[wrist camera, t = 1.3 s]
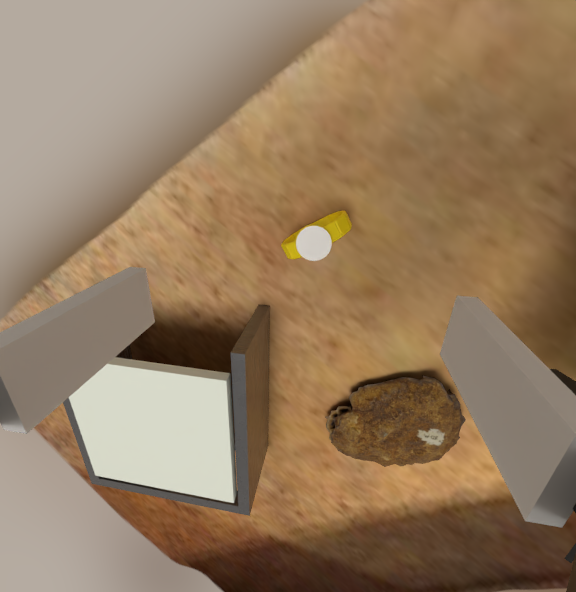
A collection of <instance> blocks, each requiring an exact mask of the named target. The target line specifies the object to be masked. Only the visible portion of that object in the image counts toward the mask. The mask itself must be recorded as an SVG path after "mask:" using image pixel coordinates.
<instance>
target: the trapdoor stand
mask: <svg viewBox="0 0 576 592" xmlns="http://www.w3.org/2000/svg"><path fill="white" fill-rule="evenodd" d="M269 327H270V306H267V305H258V307H257V308H256V310H255V312H254V314H253V315H252V317H251V319H250V320H249V322H248V324H247V326H246V327H245V329H244V331H243V332H242V334H241V336H240V337H239V339H238V341H237V343H236V344H235V346H234V348H233V349H232V351H231V370H232V390H233V409H234V428H235V433H234V449H235V450H236V467H237V487H238V491H237V495H236V498H235V501H234V503H231V502H226V501H221V500H216V499H211V498H205V497H200V496H195V495H190V494H185V493H180V492H175V491H170V490H165V489H160V488H155V487H150V486H145V485H140V484H135V483H130V482H125V481H120V480H115V479H110V478H105V477H100V476H95V473H94V470H93V467H92V464H91V461H90V458H89V455H88V452H87V449H86V447H85V444H84V441H83V438H82V435H81V432H80V429H79V426H78V423H77V420H76V417H75V414H74V411H73V409H72V406H71V403H70V400H69V397H68V398H67V399H66V400H65V401H64V402H63V404H64V406H65V409H66V412H67V415H68V418H69V420H70V423H71V426H72V429H73V432H74V435H75V437H76V440H77V443H78V446H79V449H80V451H81V454H82V457H83V460H84V463H85V466H86V468H87V471H88V474H89V477H90V480H91V482H92V484H97V485H102V486H107V487H112V488H117V489H122V490H126V491H131V492H136V493H141V494H146V495H151V496H156V497H161V498H166V499H171V500H175V501H180V502H185V503H190V504H195V505H200V506H205V507H210V508H215V509H220V510H225V511H229V512H234V513H239V514H244V515H249V516H250V512H251V508H252V504H253V501H254V497H255V493H256V489H257V485H258V482H259V478H260V474H261V470H262V466H263V463H264V459H265V455H266V451H267V447H268V411H269ZM116 357H117V358H125V359H132V355H131V350H130V345H128V346H127V347H126V348H125V349H124V350H123V351H121V352H120V353H119V354H118V355H117V356H116ZM132 360H133V359H132Z"/></svg>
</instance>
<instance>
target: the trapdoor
mask: <svg viewBox="0 0 576 592" xmlns="http://www.w3.org/2000/svg"><path fill="white" fill-rule="evenodd" d="M69 400H70V403H71V406H72V409H73V411H74V414H75V417H76V420H77V423H78V426H79V429H80V432H81V435H82V438H83V441H84V444H85V447H86V449H87V452H88V455H89V458H90V461H91V464H92V467H93V470H94V473H95V476H100V477H105V478H110V479H115V480H120V481H125V482H130V483H135V484H140V485H145V486H150V487H155V488H160V489H165V490H170V491H175V492H180V493H185V494H190V495H195V496H200V497H205V498H211V499H216V500H221V501H226V502H231V503H234V501H235V498H236V495H237V487H236V468H235V449H234V430H233V412H232V393H231V374H230V373H225V372H218V371H211V370H203V369H196V368H189V367H182V366H175V365H168V364H160V363H153V362H146V361H139V360H132V359H125V358H117V357H114V358H113V359H112V360H111V361H110V362H109V363H108V364H106V365H105V366H104V367H103V368H102V369H101V370H100V371H98V372H97V373H96V374H95V375H94V376H93V377H91V378H90V379H89V380H88V381H87V382H86V383H85V384H83V385H82V386H81V387H80V388H79V389H78V390H77V391H75V392H74V393H73V394H72V395H71V396H70V397H69Z"/></svg>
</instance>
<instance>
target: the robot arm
mask: <svg viewBox="0 0 576 592" xmlns="http://www.w3.org/2000/svg"><path fill="white" fill-rule="evenodd" d="M154 323H155V319H154V314H153V308H152V302H151V296H150V290H149V285H148V279H147V273H146V268H136V267H129V268H127V269H125V270H123V271H121V272H119V273H117V274H115V275H113V276H111V277H109V278H107V279H105V280H103V281H101V282H99V283H97V284H95V285H93V286H91V287H89V288H87V289H85V290H83V291H81V292H79V293H77V294H75V295H73V296H71V297H70V298H68V299H66V300H64V301H62V302H60V303H58V304H56V305H54V306H52V307H50V308H48V309H46V310H44V311H42V312H40V313H38V314H36V315H34V316H32V317H30V318H28V319H26V320H24V321H22V322H20V323H18V324H16V325H14V326H12V327H10V328H8V329H6V330H4V331H2V332H0V423H1V425H2V427H3V429H4V430H8V431H14V432H20V433H26V434H27V433H28V432H29V431H30V430H32V429H33V428H34V427H35V426H36V425H37V424H39V423H40V422H41V421H42V420H43V419H44V418H45V417H47V416H48V415H49V414H50V413H51V412H52V411H54V410H55V409H56V408H57V407H58V406H59V405H60V404H62V403H63V402H64V401H65V400H66V399H67V398H68V397H70V396H71V395H72V394H73V393H74V392H75V391H77V390H78V389H79V388H80V387H81V386H82V385H83V384H85V383H86V382H87V381H88V380H89V379H90V378H91V377H93V376H94V375H95V374H96V373H97V372H98V371H100V370H101V369H102V368H103V367H104V366H105V365H106V364H108V363H109V362H110V361H111V360H112V359H113V358H114V357H116V356H117V355H118V354H119V353H120V352H121V351H123V350H124V349H125V348H126V347H127V346H128V345H129V344H131V343H132V342H133V341H134V340H135V339H136V338H137V337H139V336H140V335H141V334H142V333H143V332H144V331H146V330H147V329H148V328H149V327H150V326H151V325H152V324H154ZM440 355H441V357H442V359H443V361H444V363H445V365H446V367H447V369H448V371H449V373H450V375H451V377H452V379H453V381H454V383H455V385H456V387H457V389H458V391H459V392H460V394H461V396H462V398H463V400H464V402H465V404H466V406H467V408H468V410H469V412H470V414H471V416H472V418H473V420H474V422H475V424H476V426H477V428H478V430H479V432H480V434H481V436H482V438H483V439H484V441H485V443H486V445H487V447H488V449H489V451H490V453H491V455H492V457H493V459H494V461H495V463H496V465H497V467H498V469H499V471H500V473H501V475H502V477H503V479H504V481H505V483H506V484H507V486H508V488H509V490H510V492H511V494H512V496H513V498H514V500H515V502H516V504H517V506H518V508H519V510H520V512H521V514H522V516H523V518H524V520H525V521H528V522H534V523H540V524H545V525H551V526H557V527H563V525H564V524H565V522H566V521H567V519H568V518H569V516H570V515H571V514H572V512H573V511H575V513H576V381H574V380H572V379H571V378H569V377H567V376H566V375H564V374H563V373H561V372H559V371H558V370H556V369H549V368H548V367H547V366H546V365H545V364H544V363H543V362H542V361H541V360H540V359H539V358H538V357H537V356H536V355H535V354H534V353H533V352H532V351H531V350H530V349H529V348H528V347H527V346H526V345H525V344H524V343H523V342H522V341H521V340H520V339H519V338H518V337H517V336H516V335H515V334H514V333H513V332H512V331H511V330H510V329H509V328H508V327H507V326H506V325H505V324H504V323H503V322H502V321H501V320H500V319H499V318H498V317H497V316H496V315H495V314H494V313H493V312H492V311H491V310H490V309H489V308H488V307H487V306H486V305H485V304H484V303H483V302H482V301H481V300H480V299H479V298H478V297H468V296H457V297H456V300H455V304H454V307H453V311H452V314H451V318H450V321H449V324H448V328H447V331H446V335H445V338H444V342H443V345H442V349H441V352H440ZM565 559H566V560H567V561H569V562H570V563H572V561H573V560H574V562H573V566H572V570H571V574H570V578H569V583H568V587H567V591H566V592H576V544H575V545H574V546H573V548H572V549H571V550H570V552H569V553H568V554H567V556H566V557H565Z"/></svg>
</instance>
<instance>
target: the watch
mask: <svg viewBox="0 0 576 592" xmlns="http://www.w3.org/2000/svg"><path fill="white" fill-rule="evenodd" d="M351 226H352V224H351V222H350V219H349V217H348V215H347V213H346V211H339V212H335V213H333V214H330V215H327V216H326V217H324V218H322V219H320V220H318V221H316V222H314V223H312V224H309V225H306V226H305V227H303V228H302V229H300V230H298V231H297V232H295V233H294V234H292V235H291V236H289V237H288V238H287V239H285V240H284V241H283V243H282V244H281V246H282V248H283V250H284V252H285V254H286V256H287V258H288V259H297V258H301V257H303V258H304V259H307V260H310V261H318V260H321V259H323V258H324V257H326V256H327V255H328V253H329V252H330V250H331V247H332V243H333V242H335V241H336V240H338V239H340V238H341V237H343V236H344V235H345V234H346V233H347V232H348V231H350V229H351Z"/></svg>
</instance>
